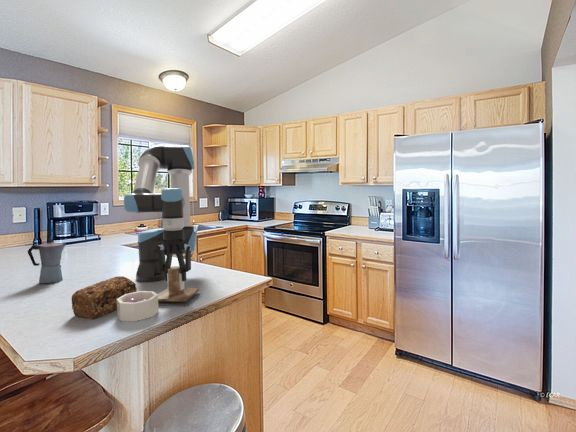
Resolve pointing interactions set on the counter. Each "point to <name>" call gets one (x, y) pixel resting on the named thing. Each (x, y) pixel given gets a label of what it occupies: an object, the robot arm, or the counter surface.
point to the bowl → (137, 305)
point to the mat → (177, 303)
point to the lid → (176, 288)
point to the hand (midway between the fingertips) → (176, 288)
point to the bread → (101, 297)
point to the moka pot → (49, 261)
